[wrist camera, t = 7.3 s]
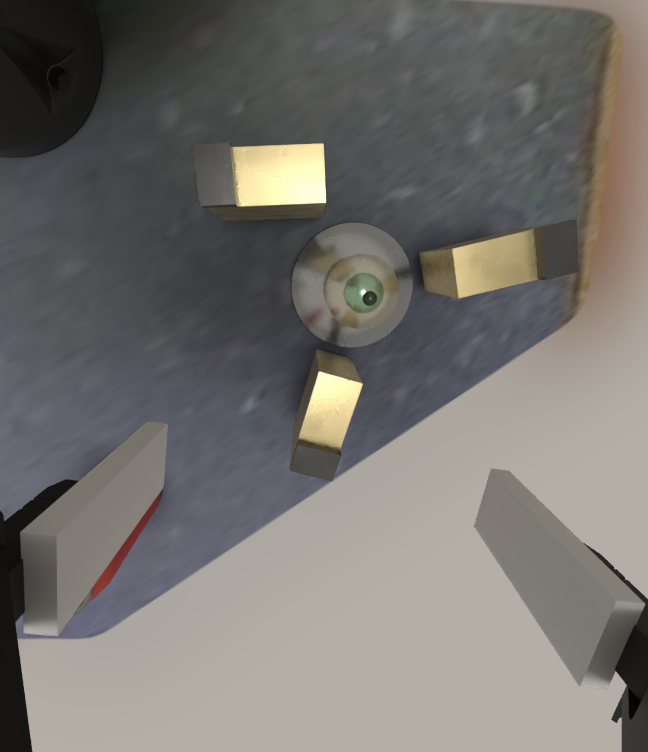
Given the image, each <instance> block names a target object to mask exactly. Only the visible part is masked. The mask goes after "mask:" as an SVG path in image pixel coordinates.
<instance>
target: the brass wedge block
mask: <svg viewBox="0 0 648 752" xmlns="http://www.w3.org/2000/svg"><path fill="white" fill-rule="evenodd" d="M362 385H363V383H362V381H361V379H360V377H359V375H358V373H357V370H356V368H355V366H354V364H353V362H352V360H351V359H350V358H347V357H343V356H340V355H336V354H333V353H329V352H326V351H322V350H319V349H316V352H315V355H314V359H313V362H312V365H311V369H310V372H309V375H308V379H307V382H306V385H305V389H304V392H303V395H302V398H301V402H300V405H299V408H298V412H297V415H296V418H295V422H294V427H293V439H292V451H291V463H290V471H293V472H297V473H301V474H305V475H309V476H313V477H317V478H321V479H326V480H330V481H332V480H333V477H334V475H335V472H336V469H337V466H338V463H339V460H340V457H341V453H340V449H341V446H342V443H343V440H344V437H345V434H346V431H347V428H348V425H349V423H350V420H351V417H352V414H353V411H354V408H355V405H356V402H357V399H358V396H359V393H360V391H361V388H362Z"/></svg>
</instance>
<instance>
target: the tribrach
mask: <svg viewBox="0 0 648 752" xmlns="http://www.w3.org/2000/svg"><path fill="white" fill-rule="evenodd" d="M412 290H413V279H412V271H411V267H410V264H409V261H408V258H407V256H406V254H405V252H404V251H403V249H402V248H401V246H400V245H399V244H398V243H397V242H396V241H395V239H394V238H392V237H391V236H390V235H389V234H387V233H386V232H384V231H383V230H381V229H379V228H377V227H374V226H372V225H368V224H363V223H344V224H339V225H336V226H333V227H330V228H328V229H326V230H324V231H322V232H321V233H319V234H318V235H317V236H315V237H314V238H313V239H312V240H311V241H310V242H309V243H308V244H307V245H306V246H305V248H304V249H303V251H302V252H301V254H300V256H299V258H298V260H297V262H296V265H295V268H294V271H293V276H292V296H293V302H294V305H295V308H296V311H297V313H298V315H299V317H300V319H301V320H302V322H303V323H304V325H305V326H306V327H307V328H308V329H309V330H310V331H311V332H312V333H313V334H314V335H316V336H317V337H318V338H320V339H321V340H323V341H325V342H327V343H330V344H333V345H336V346H341V347H361V346H366V345H369V344H372V343H374V342H376V341H379V340H380V339H382V338H384V337H385V336H387V335H388V334H389V333H390V332H392V331H393V330H394V329H395V328H396V326H397V325H398V324H399V323H400V321H401V320H402V319H403V317H404V315H405V313H406V311H407V309H408V307H409V304H410V300H411V296H412Z"/></svg>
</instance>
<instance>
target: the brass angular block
mask: <svg viewBox="0 0 648 752" xmlns="http://www.w3.org/2000/svg"><path fill="white" fill-rule="evenodd" d="M419 255H420V261H421V268H422V274H423V281H424V287H425V291H427V292H432V293H436V294H441V295H445V296H450V297H455V298H462V297H466V296H471V295H475V294H479V293H483V292H487V291H491V290H496V289H500V288H504V287H508V286H512V285H516V284H521V283H525V282H529V281H533V280H537V279H540V280H547V279H551V278H555V277H559V276H564V275H568V274H572V273H576V272H578V248H577V222H576V220H570V221H564V222H558V223H553V224H547V225H541V226H535V227H529V228H523V229H518V230H512V231H506V232H502V233H498V234H494V235H490V236H486V237H482V238H478V239H474V240H470V241H465V242H461V243H457V244H453V245H449V246H445V247H441V248H437V249H433V250H428V251H424V252H420V253H419Z"/></svg>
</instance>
